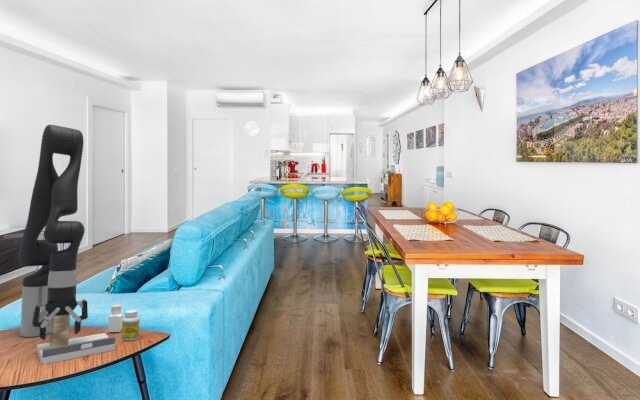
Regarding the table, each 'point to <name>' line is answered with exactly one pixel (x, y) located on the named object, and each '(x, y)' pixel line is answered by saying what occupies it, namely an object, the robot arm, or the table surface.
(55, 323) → the tea box
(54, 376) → the table surface
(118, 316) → the pepper shaker
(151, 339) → the table surface
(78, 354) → the shelf
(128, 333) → the supplement bottle
